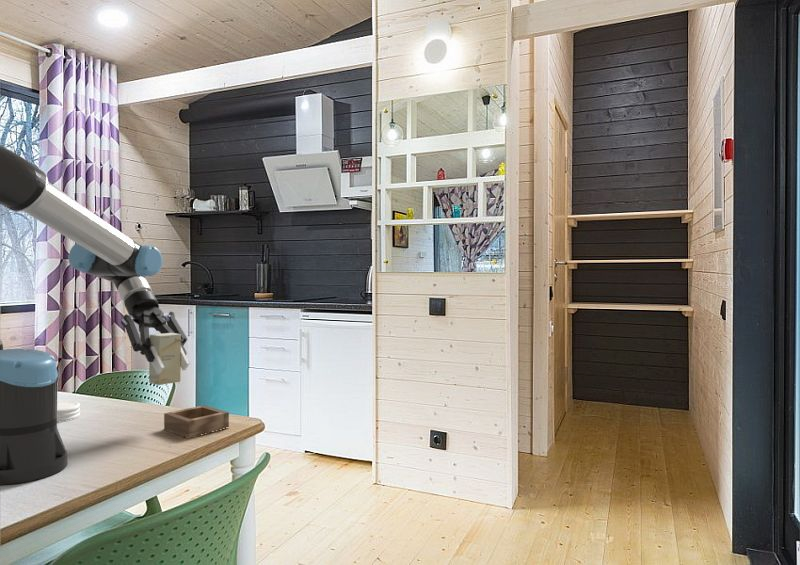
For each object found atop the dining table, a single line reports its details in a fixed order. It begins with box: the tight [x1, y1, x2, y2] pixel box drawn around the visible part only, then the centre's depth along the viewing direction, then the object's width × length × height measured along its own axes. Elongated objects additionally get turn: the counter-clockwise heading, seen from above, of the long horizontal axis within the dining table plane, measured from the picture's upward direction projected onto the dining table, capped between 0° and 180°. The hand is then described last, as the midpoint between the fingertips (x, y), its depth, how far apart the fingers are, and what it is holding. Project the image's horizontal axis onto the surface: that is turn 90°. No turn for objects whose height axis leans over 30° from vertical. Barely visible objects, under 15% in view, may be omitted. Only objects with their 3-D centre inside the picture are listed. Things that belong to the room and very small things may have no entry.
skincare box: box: [148, 333, 182, 386], centre depth 142 cm, size 6×4×12 cm
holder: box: [163, 404, 230, 439], centre depth 142 cm, size 11×11×4 cm
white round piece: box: [57, 400, 81, 423], centre depth 150 cm, size 10×10×4 cm
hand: (173, 368), depth 140 cm, fingers closed on skincare box, 6 cm apart
